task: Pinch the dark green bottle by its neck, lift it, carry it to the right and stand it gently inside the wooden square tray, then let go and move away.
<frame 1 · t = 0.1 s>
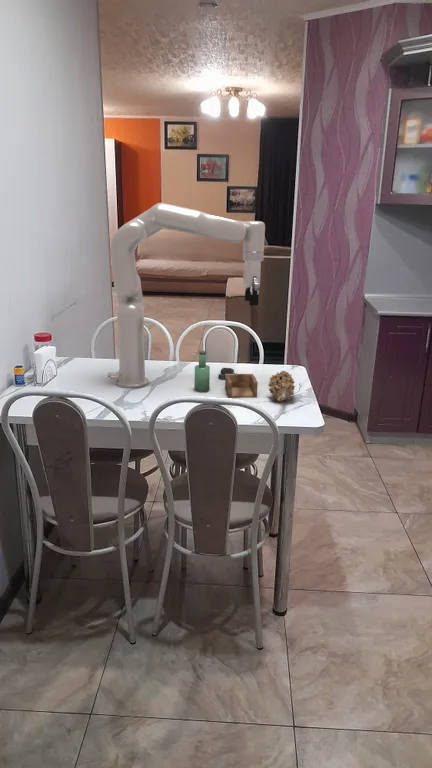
hand: (251, 302, 206), 31 cm above the table, tool pointing down, fingers open, 9 cm apart
pine cone: (281, 402, 195), on the table
bottle: (201, 389, 206), on the table
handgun: (238, 378, 223), on the table
wooden square tray: (240, 392, 203), on the table
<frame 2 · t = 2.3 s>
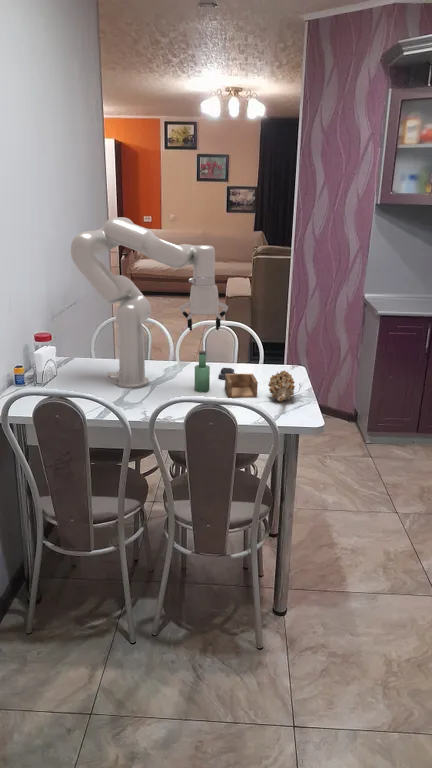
hand: (204, 329, 198), 23 cm above the table, tool pointing down, fingers open, 9 cm apart
nothing on the table moved.
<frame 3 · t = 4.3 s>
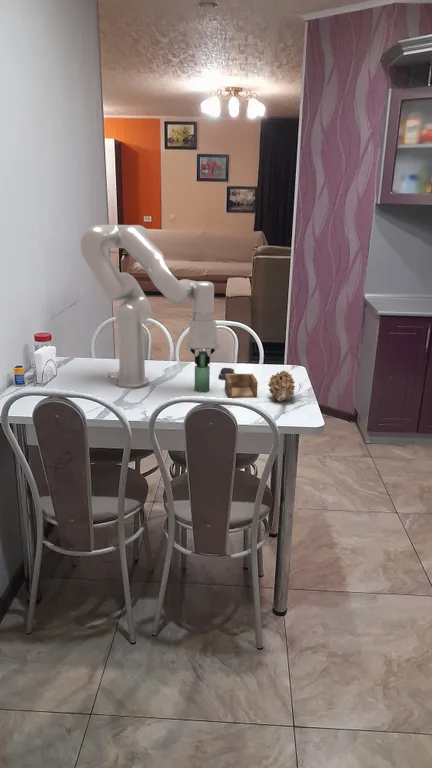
hand: (202, 365, 203), 10 cm above the table, tool pointing down, fingers closed on bottle, 2 cm apart
bottle: (201, 389, 206), on the table, touching gripper
everything else where it was.
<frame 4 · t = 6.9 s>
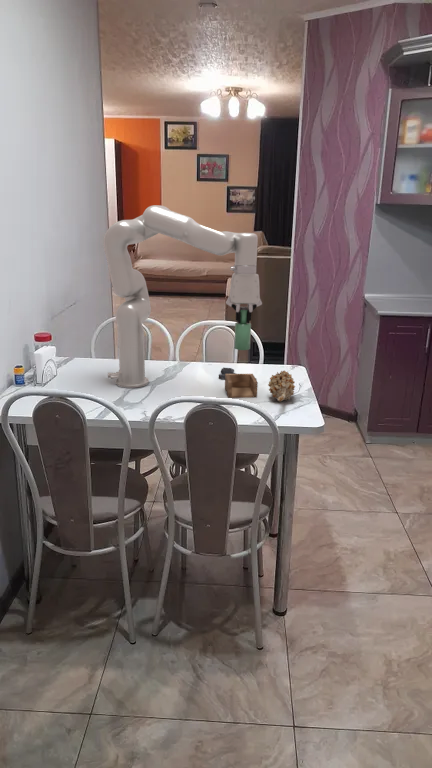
hand: (243, 322, 195), 27 cm above the table, tool pointing down, fingers closed on bottle, 2 cm apart
bottle: (242, 348, 198), point 17 cm above the table, touching gripper
everything else where it was.
when the fingers open (11 cm above the table, at t = 9.8 s): bottle stays where it is, resting on wooden square tray.
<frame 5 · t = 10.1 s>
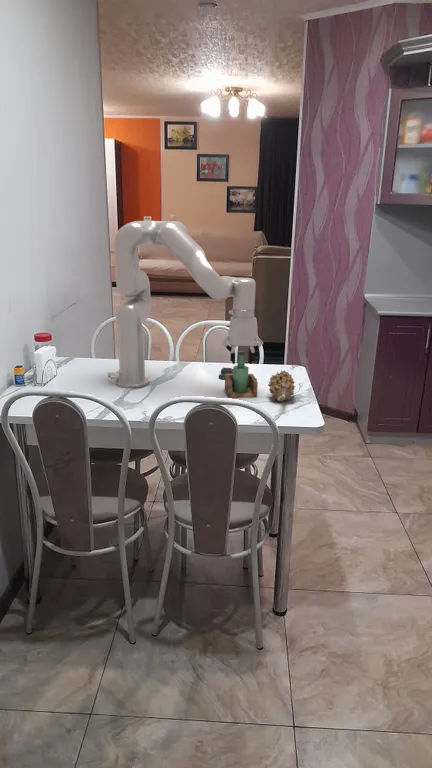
hand: (241, 362, 200), 12 cm above the table, tool pointing down, fingers open, 5 cm apart
bottle: (240, 390, 203), point 1 cm above the table, touching wooden square tray
everything else where it was.
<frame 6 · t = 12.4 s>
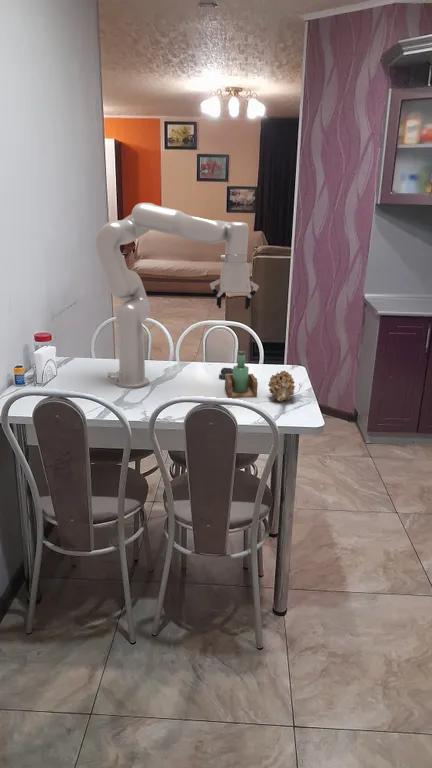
hand: (232, 308, 196), 31 cm above the table, tool pointing down, fingers open, 9 cm apart
nothing on the table moved.
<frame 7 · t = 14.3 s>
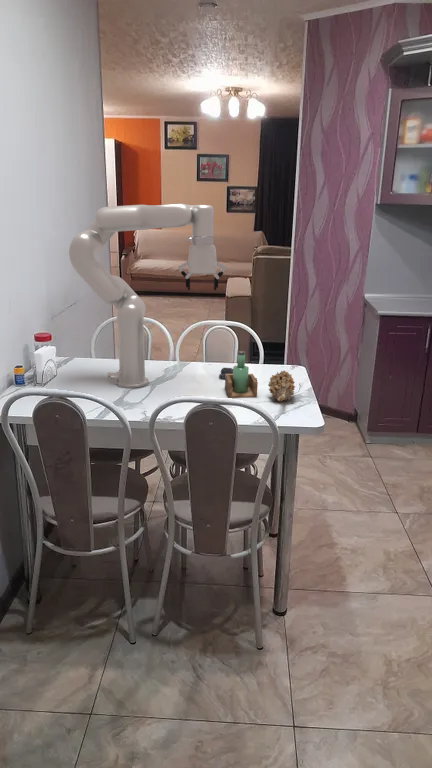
hand: (201, 289, 201), 36 cm above the table, tool pointing down, fingers open, 9 cm apart
nothing on the table moved.
at the end: bottle 0.3 cm off-centre on the wooden square tray, point 0.8 cm above the wooden square tray's base; bottle tilted 0°; the gripper is holding nothing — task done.
